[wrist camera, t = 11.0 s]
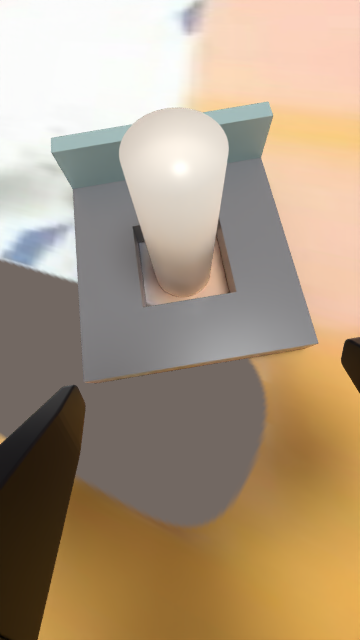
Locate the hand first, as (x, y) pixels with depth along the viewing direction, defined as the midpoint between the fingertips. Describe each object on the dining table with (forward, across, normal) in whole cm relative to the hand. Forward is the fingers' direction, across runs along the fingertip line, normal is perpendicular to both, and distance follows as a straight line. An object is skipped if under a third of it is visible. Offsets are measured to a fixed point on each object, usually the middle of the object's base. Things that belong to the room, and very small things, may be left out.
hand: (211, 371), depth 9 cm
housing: (+12, 0, 0) cm, 12 cm away
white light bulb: (+12, 0, 0) cm, 12 cm away
